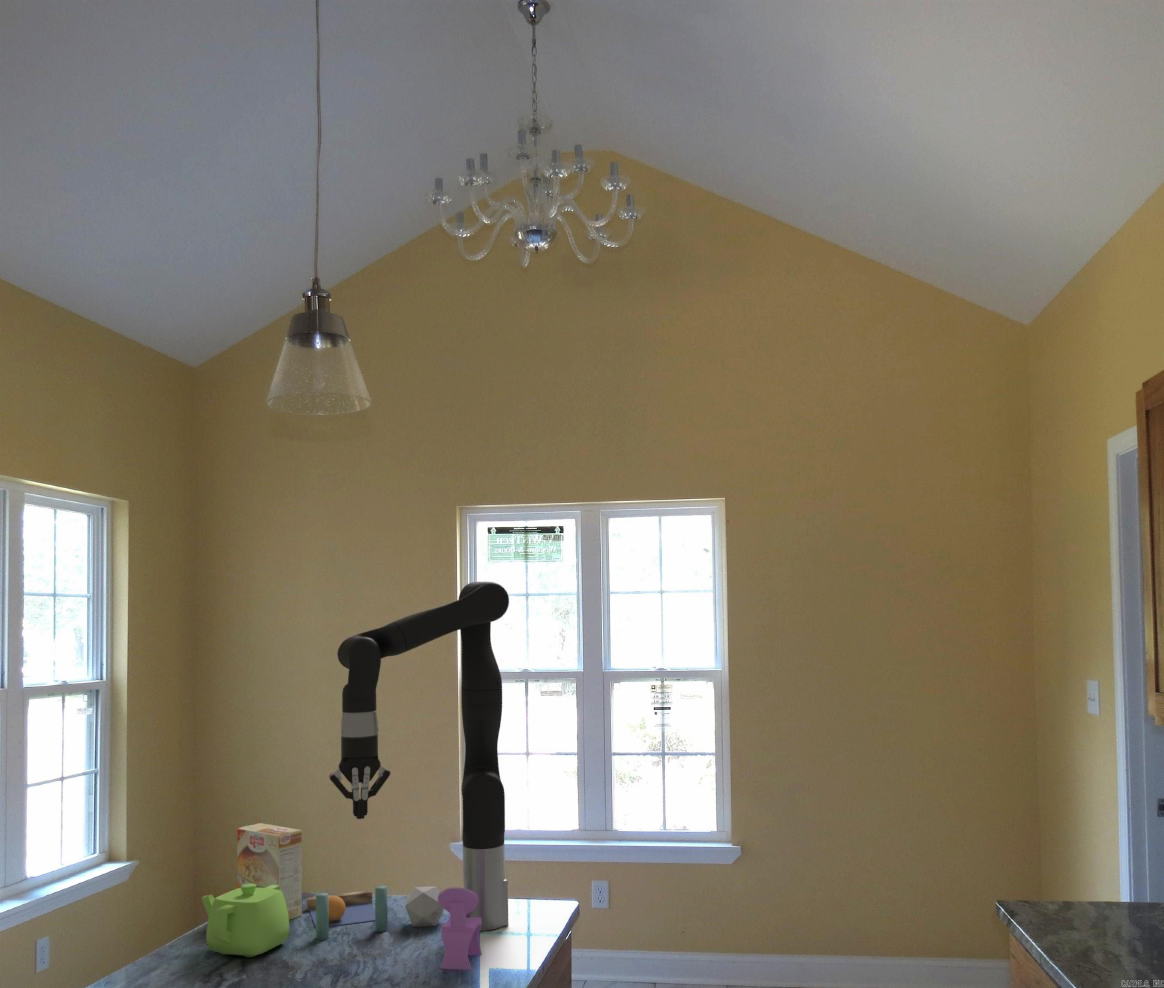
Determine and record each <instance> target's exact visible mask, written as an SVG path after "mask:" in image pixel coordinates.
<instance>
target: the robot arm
mask: <svg viewBox="0 0 1164 988" xmlns="http://www.w3.org/2000/svg"><path fill="white" fill-rule="evenodd" d="M509 605H510V597H509V594H508V592H507V589H505V587H504V586H502V584H499V583H497V582H495V581H489V580H488V581H487V580H485V581H473V582H469V583H467V584H466V585H464V587H463V588H462V589H461V590H460V592H459V596H458V599H457V600H455V601H452V602H451V603H447V604H445V605H441V606H438V607H434V608H431V609H425V610H423V611H420V612H416V613H413V614H410V615H407V616H404V617H402V618H400V619H399V618H398V619H397V620H394V621H392V622H389V623H387V624H386V625H383V626H382V627H379V628H373V629H370V630H367V631H363V632H361V633H357V634H355V635H352V636H349V637H348V638H346V639H344V640H343V641H342V642H341V644H340V645H339V647H338V649H337V659H338V661H339V664H340V665H341V666H342V667H344V668H346V669H348V675H347V676H348V677H347V683H346V684H345V685H344V686H343V689H342V693H341V699H342V700H341V702H342V703H341V707H342V708H341V709H342V710H341V711H342V712H341V720H340V750H341V751H340V756H341V757H340V762H339V764H338V768H337V769H336V770H335V771H334V772H333V773H329V776H328V778H329V780H330V781H331V782H332V784H333V785H334V786H335V788H336V789H337V790H338V791H339V792H340V793H341V794H342V795H343V797H345V799H348V800H349V799H350V800H352V815H353V816H354V817H355V818H356V820H362V819H365V817H366V816H368V812H369V811H368V807H369V806H368V800H369V799H370V798H372V797H375V796H376V795H377V794H378V792H379V791H380V790H381V789H382V787H383V786H384V784H385V782H387V780H388V779H389V778H390V776H391V771H390V770H389V769H387V768H385V767H384V766H382V765H381V760H380V759H379V722H378V721H379V720H378V714H377V713H378V712H377V686H378V682H379V677H380V671H381V664H382V659H384V658H386V657H394V656H398V655H402V654H404V653H406V652H409V651H411V650H414V649H416V648H418V647H421V646H423V645H425V644H427V643H430V642H432V641H434V640H437V639H438V638H441V637H443V636H446V635H449V634H451V633H454V632H457V631H459V630H460V641H461V688H460V690H461V691H460V692H461V693H460V695H461V700H460V701H461V704H460V705H461V717H462V718H461V719H462V728H463V736H464V745H465V746H464V747H465V751H464V752H465V753H464V766H463V767H464V768H463V775H462V783H461V797H462V878H463V879H462V881H463V883H462V885H463V887H462V888H466V889H469V890H471V891H473V892H475V893H476V894H477V895H478V898H479V901H478V904H477V906H476V907H475V908H474V910H473V911H471V912H470V913H468V914H467V915H466V918H472V917H481V922H482V926H481V929H480V931H492V930H493V931H494V930H497V929H500V928H502V927H504V926H509V925H510V924H509V884H508V883H509V882H508V879H506V865H505V864H506V863H505V859H506V858H505V857H506V856H505V832H506V801H505V800H506V799H505V798H506V797H505V795H506V794H505V788H504V784H503V782H502V779H501V775H500V766H499V755H498V753H499V752H498V751H499V750H498V746H499V745H498V744H499V736H500V735H499V734H500V729H501V723H502V715H503V713H502V712H503V680H502V674H501V670H500V668H499V664H498V663H497V659H496V656H495V654H494V651H493V647H492V641H491V639H492V637H491V630H492V629H491V627H492V626H491V625H492V622H496V621H497V620H500V619H501V618H502V617H503V616H504V615H505V614H506V613H507V611H508V608H509ZM376 774H377V779H376V780H375V781H374V783H373V784H372V785H371V787H370V782H371V781H372V780H373V778H374V777H375V775H376ZM342 775H343V776H344V777H345V779H346V781H348V783H350V789H351V791H349V790H348V789H347V788H346V786H345V785H344V784H343V783H342V782H341V781H342V780H343V777H342Z"/></svg>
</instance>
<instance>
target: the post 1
mask: <svg viewBox="0 0 1164 988" xmlns="http://www.w3.org/2000/svg"><path fill="white" fill-rule="evenodd" d="M329 895H330V894H329V893H328V892H321V893H317V894H316V895H315V897H316V928H315V939H316V940H317V941H324V940H327V939H330V938H329V937H330V936H329V935H330V934H329V932H330V930H329V928H330V927H329Z"/></svg>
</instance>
